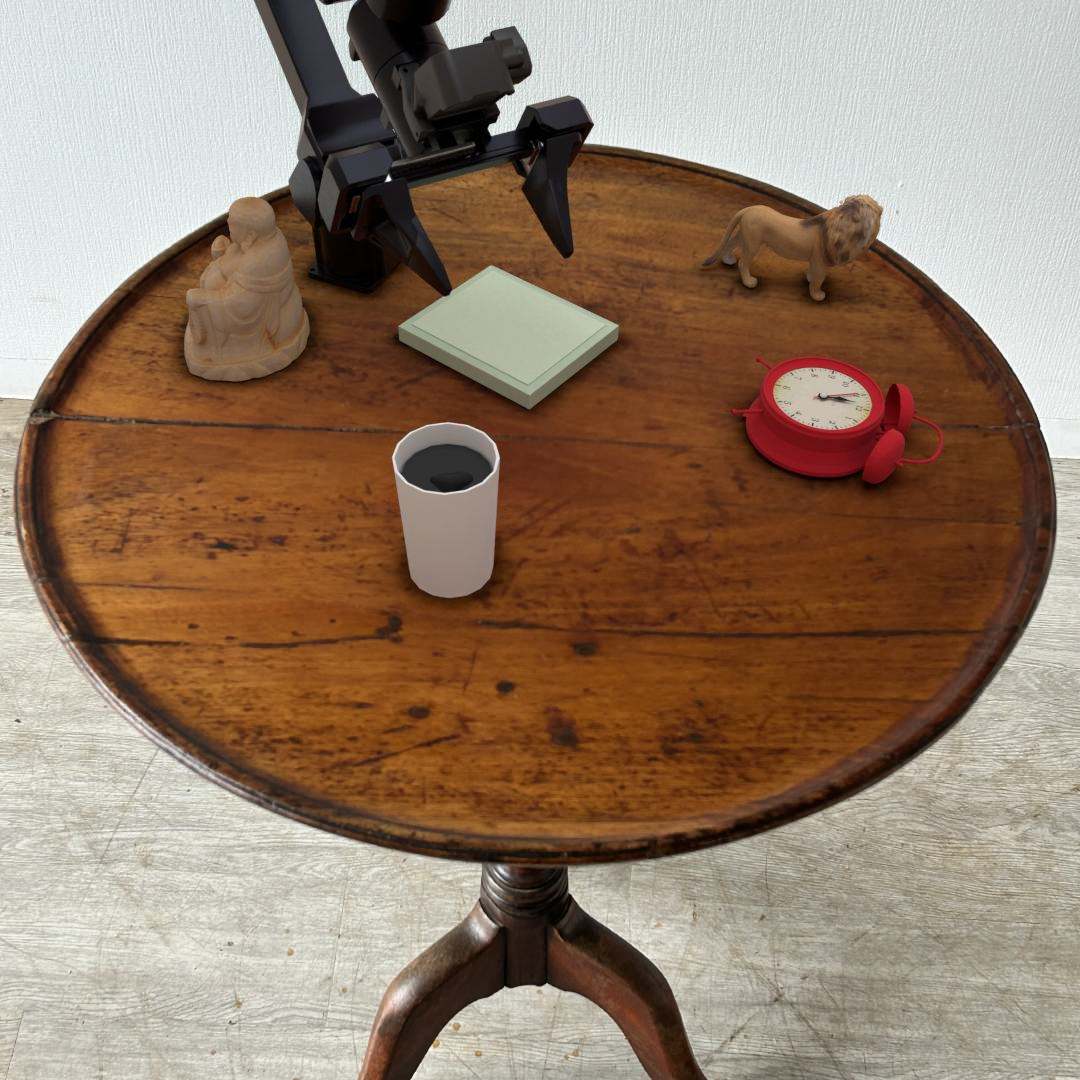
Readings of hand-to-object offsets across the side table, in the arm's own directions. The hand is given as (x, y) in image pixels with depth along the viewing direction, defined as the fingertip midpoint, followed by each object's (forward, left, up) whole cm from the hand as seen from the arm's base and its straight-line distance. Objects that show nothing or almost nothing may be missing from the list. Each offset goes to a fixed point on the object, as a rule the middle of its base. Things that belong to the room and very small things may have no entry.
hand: (510, 274), depth 74 cm
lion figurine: (+13, +31, -16) cm, 37 cm away
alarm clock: (+22, +11, -16) cm, 30 cm away
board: (-6, +12, -15) cm, 21 cm away
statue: (-26, +3, -16) cm, 30 cm away
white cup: (+1, -13, -16) cm, 20 cm away
